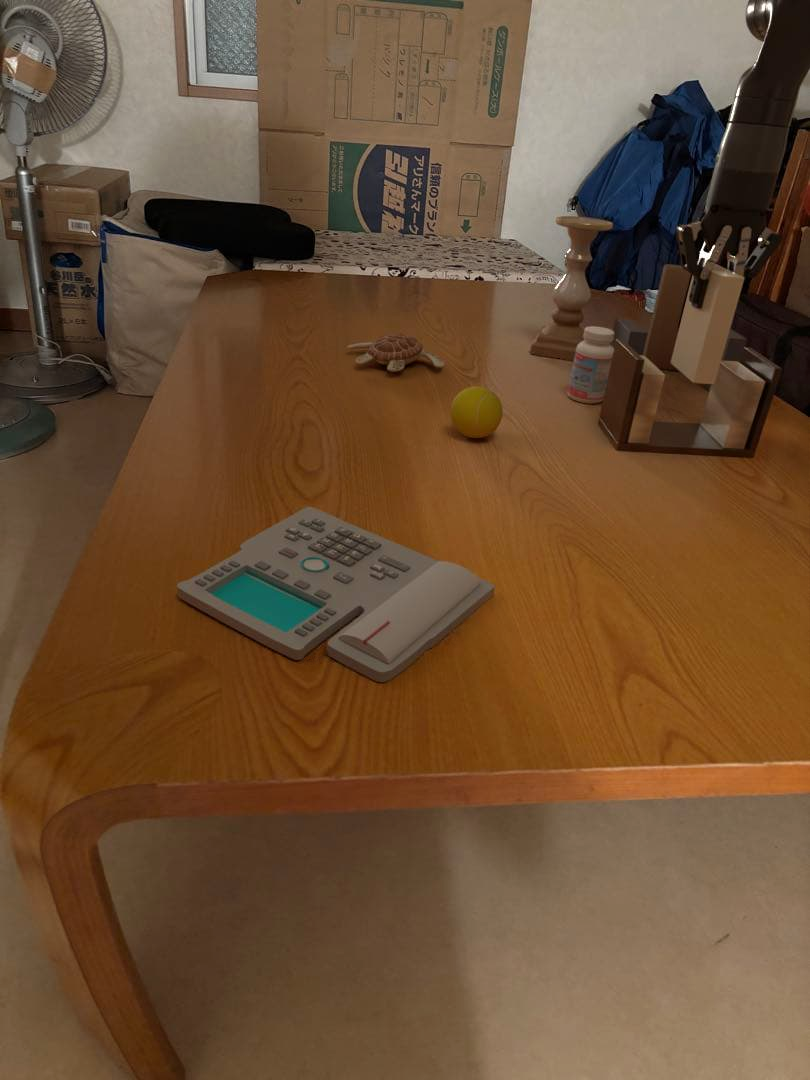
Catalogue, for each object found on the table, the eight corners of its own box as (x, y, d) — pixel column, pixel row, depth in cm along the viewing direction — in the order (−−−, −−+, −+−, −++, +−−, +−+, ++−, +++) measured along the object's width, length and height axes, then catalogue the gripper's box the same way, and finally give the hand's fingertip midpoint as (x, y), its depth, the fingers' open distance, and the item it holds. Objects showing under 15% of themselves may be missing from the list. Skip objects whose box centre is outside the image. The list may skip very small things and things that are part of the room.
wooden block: (689, 366, 148) (715, 269, 139) (691, 373, 144) (718, 273, 135) (641, 360, 149) (664, 263, 140) (642, 367, 146) (665, 267, 137)
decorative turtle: (459, 361, 140) (463, 334, 137) (423, 385, 126) (425, 355, 124) (370, 342, 146) (371, 316, 143) (326, 364, 132) (326, 335, 130)
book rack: (725, 431, 119) (750, 347, 112) (753, 457, 110) (782, 368, 103) (597, 424, 117) (616, 338, 111) (616, 450, 108) (637, 359, 102)
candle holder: (529, 354, 147) (550, 219, 135) (537, 340, 156) (558, 213, 144) (586, 363, 145) (613, 227, 133) (592, 348, 154) (617, 220, 142)
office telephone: (499, 572, 73) (376, 680, 58) (495, 595, 74) (374, 706, 60) (309, 494, 83) (163, 569, 69) (308, 515, 85) (165, 593, 70)
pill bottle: (559, 393, 128) (571, 325, 122) (588, 390, 131) (601, 324, 125) (582, 406, 123) (596, 336, 118) (612, 402, 126) (627, 334, 120)
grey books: (710, 379, 142) (725, 325, 137) (730, 396, 134) (747, 339, 129) (603, 373, 140) (615, 317, 135) (617, 389, 132) (630, 331, 127)
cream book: (690, 364, 112) (716, 264, 105) (714, 384, 105) (744, 277, 98) (670, 363, 112) (695, 262, 105) (693, 383, 104) (722, 276, 97)
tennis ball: (438, 432, 109) (443, 384, 106) (473, 423, 113) (479, 377, 110) (473, 449, 105) (479, 400, 101) (508, 439, 109) (515, 391, 105)
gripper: (703, 164, 92) (668, 311, 100) (816, 173, 93) (772, 318, 101) (681, 159, 98) (649, 298, 107) (787, 168, 99) (747, 305, 108)
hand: (709, 307), depth 104 cm, fingers closed on cream book, 3 cm apart
